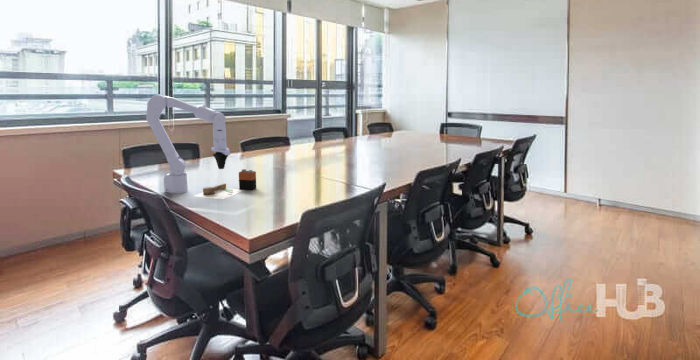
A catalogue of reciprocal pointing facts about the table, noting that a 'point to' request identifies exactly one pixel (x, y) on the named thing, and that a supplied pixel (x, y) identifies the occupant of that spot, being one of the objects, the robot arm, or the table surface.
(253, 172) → the battery
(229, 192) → the board
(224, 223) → the table surface
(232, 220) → the table surface
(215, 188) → the dial
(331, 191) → the table surface
